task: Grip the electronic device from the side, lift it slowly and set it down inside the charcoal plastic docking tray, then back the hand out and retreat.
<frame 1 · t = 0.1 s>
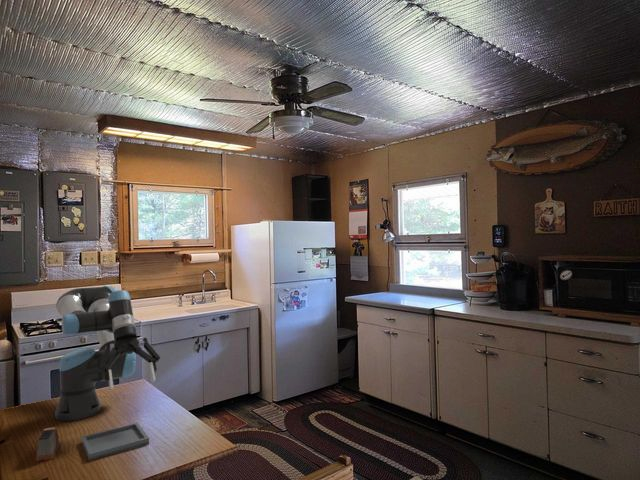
hand: (133, 385, 148), 15 cm above the table, tool tilted 35°, fingers open, 13 cm apart
electronic device: (49, 454, 133), on the table
dock tray: (115, 443, 138), on the table
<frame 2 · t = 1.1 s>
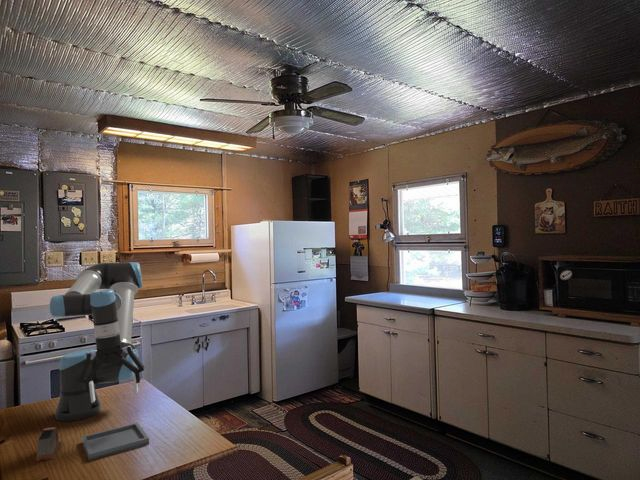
hand: (115, 396, 147), 12 cm above the table, tool pointing down, fingers open, 13 cm apart
nothing on the table moved.
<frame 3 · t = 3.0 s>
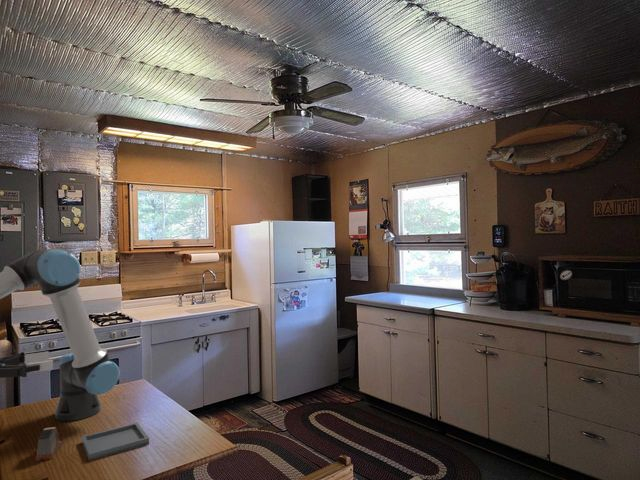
hand: (50, 359, 135), 28 cm above the table, tool horizontal, fingers open, 13 cm apart
nothing on the table moved.
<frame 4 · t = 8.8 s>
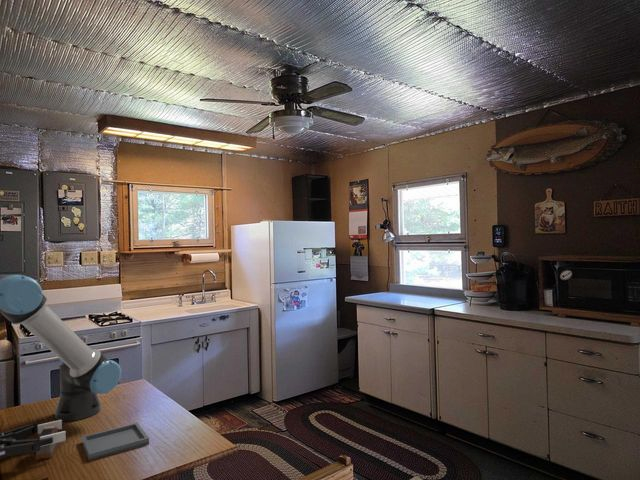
hand: (63, 429, 135), 6 cm above the table, tool horizontal, fingers open, 10 cm apart
electronic device: (49, 452, 133), on the table, touching gripper
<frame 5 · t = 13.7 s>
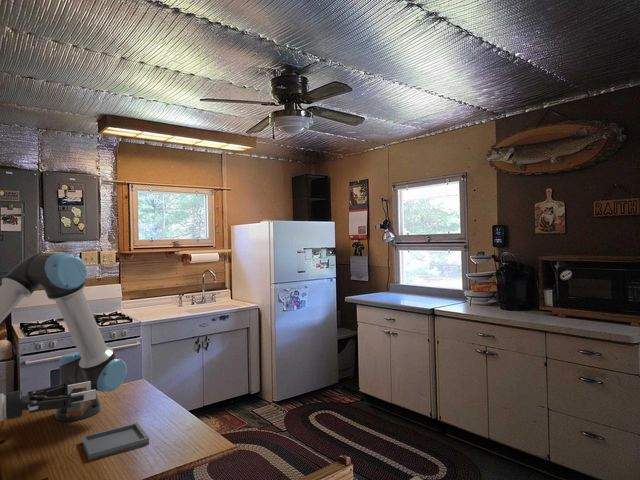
hand: (93, 389, 137), 18 cm above the table, tool horizontal, fingers closed on electronic device, 9 cm apart
electronic device: (79, 412, 135), point 12 cm above the table, touching gripper
when the fingers open (8 cm above the table, at t = 18.5 s): electronic device drops 2 cm, resting on dock tray.
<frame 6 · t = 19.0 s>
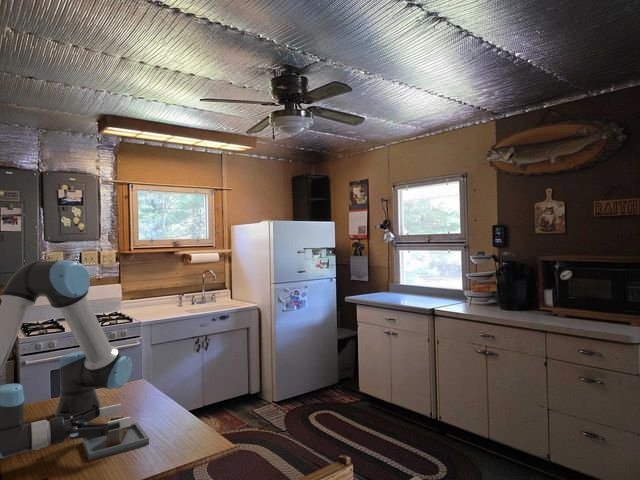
hand: (125, 414, 140), 8 cm above the table, tool horizontal, fingers open, 13 cm apart
electronic device: (117, 440, 139), point 1 cm above the table, touching dock tray
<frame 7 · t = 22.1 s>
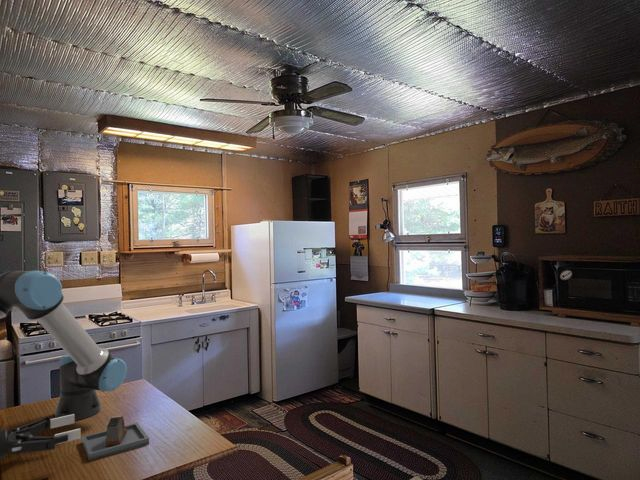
hand: (77, 425, 132), 9 cm above the table, tool horizontal, fingers open, 13 cm apart
nothing on the table moved.
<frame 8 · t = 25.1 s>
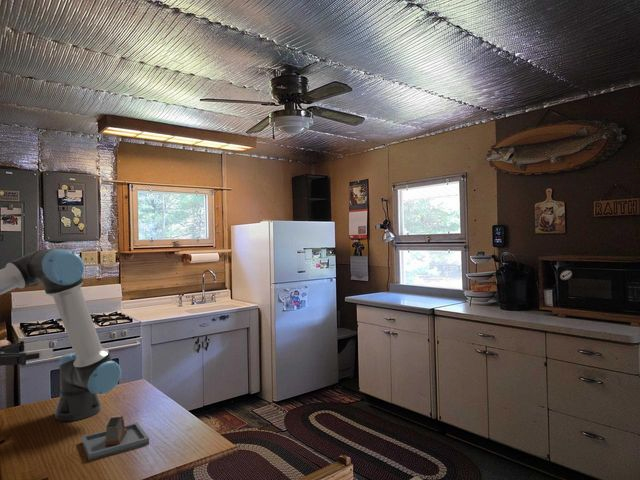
hand: (50, 348, 133), 32 cm above the table, tool horizontal, fingers open, 13 cm apart
nothing on the table moved.
at the end: electronic device inside the target area on the dock tray (0.9 cm from its centre), point 0.6 cm above the dock tray's base; electronic device tilted 0°; the gripper is holding nothing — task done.
